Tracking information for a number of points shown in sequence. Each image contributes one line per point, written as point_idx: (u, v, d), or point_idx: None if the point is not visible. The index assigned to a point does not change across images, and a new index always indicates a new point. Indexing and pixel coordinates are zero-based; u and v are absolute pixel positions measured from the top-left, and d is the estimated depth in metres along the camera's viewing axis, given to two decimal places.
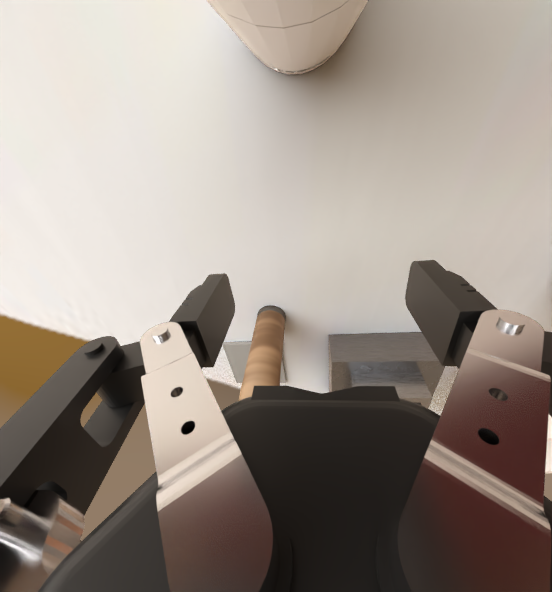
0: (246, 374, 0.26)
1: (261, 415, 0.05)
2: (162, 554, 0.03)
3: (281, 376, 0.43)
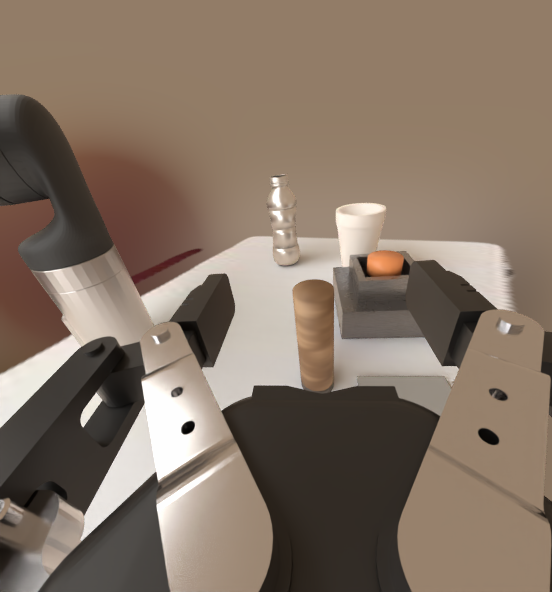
0: (300, 324, 0.25)
1: (261, 415, 0.05)
2: (162, 554, 0.03)
3: (430, 380, 0.29)
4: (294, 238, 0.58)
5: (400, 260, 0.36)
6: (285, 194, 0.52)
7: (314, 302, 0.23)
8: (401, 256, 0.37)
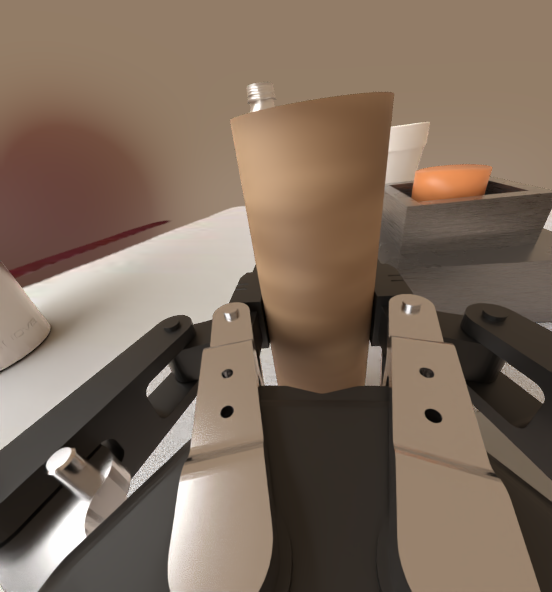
0: (263, 251, 0.07)
1: (261, 415, 0.05)
2: (162, 554, 0.03)
3: None
4: None
5: (487, 168, 0.18)
6: None
7: (314, 113, 0.05)
8: (484, 166, 0.19)
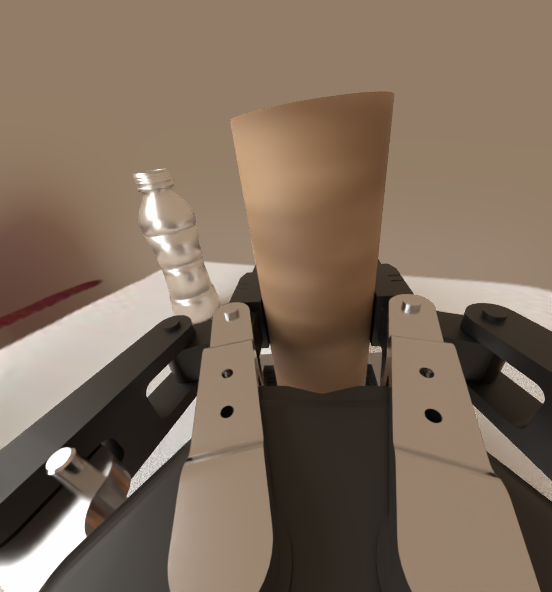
0: (263, 251, 0.07)
1: (261, 415, 0.05)
2: (162, 554, 0.03)
3: None
4: (201, 280, 0.33)
5: None
6: (163, 205, 0.27)
7: (314, 112, 0.05)
8: None
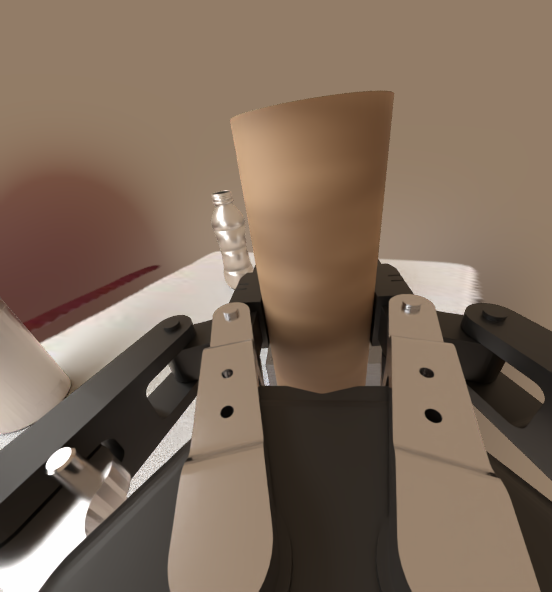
0: (262, 250, 0.07)
1: (261, 415, 0.05)
2: (162, 554, 0.03)
3: None
4: (245, 259, 0.52)
5: None
6: (228, 212, 0.46)
7: (314, 111, 0.05)
8: None
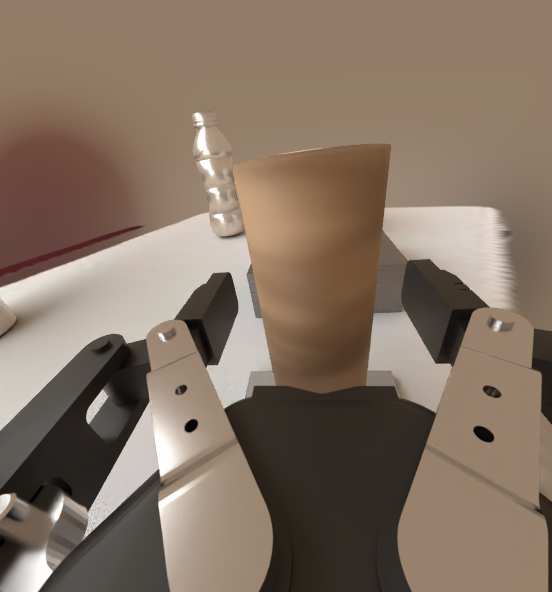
0: (264, 288, 0.07)
1: (261, 415, 0.05)
2: (162, 554, 0.03)
3: None
4: (233, 200, 0.46)
5: None
6: (212, 136, 0.40)
7: (313, 174, 0.05)
8: None
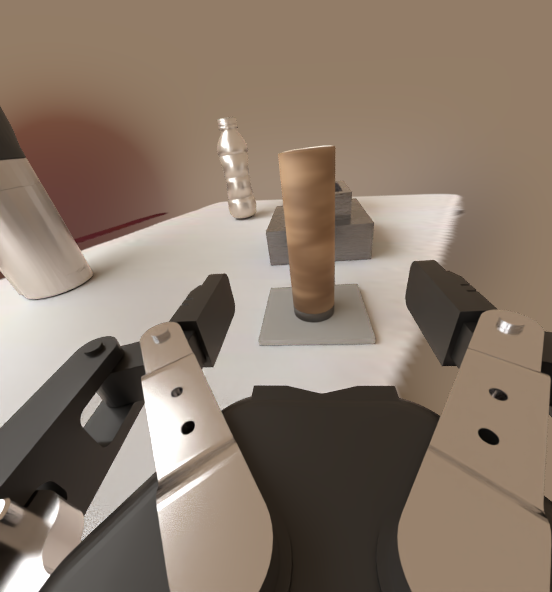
0: (288, 203, 0.18)
1: (261, 415, 0.05)
2: (162, 554, 0.03)
3: (341, 287, 0.28)
4: (248, 188, 0.56)
5: None
6: (233, 137, 0.50)
7: (307, 155, 0.16)
8: None
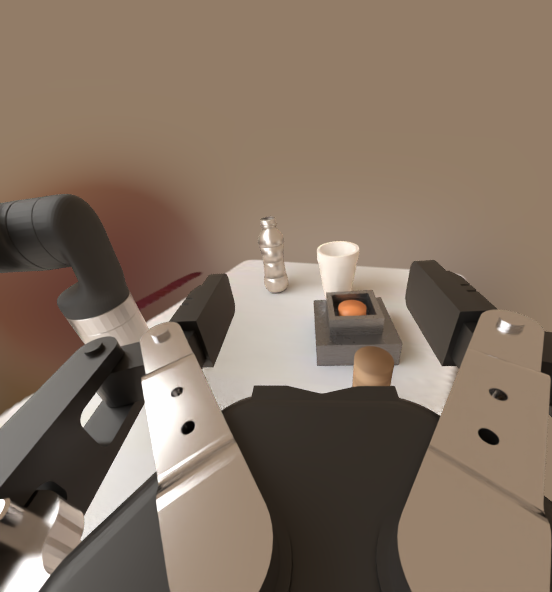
0: None
1: (261, 415, 0.05)
2: (162, 554, 0.03)
3: None
4: (283, 269, 0.66)
5: (363, 311, 0.45)
6: (273, 234, 0.60)
7: (379, 375, 0.25)
8: (364, 307, 0.46)
